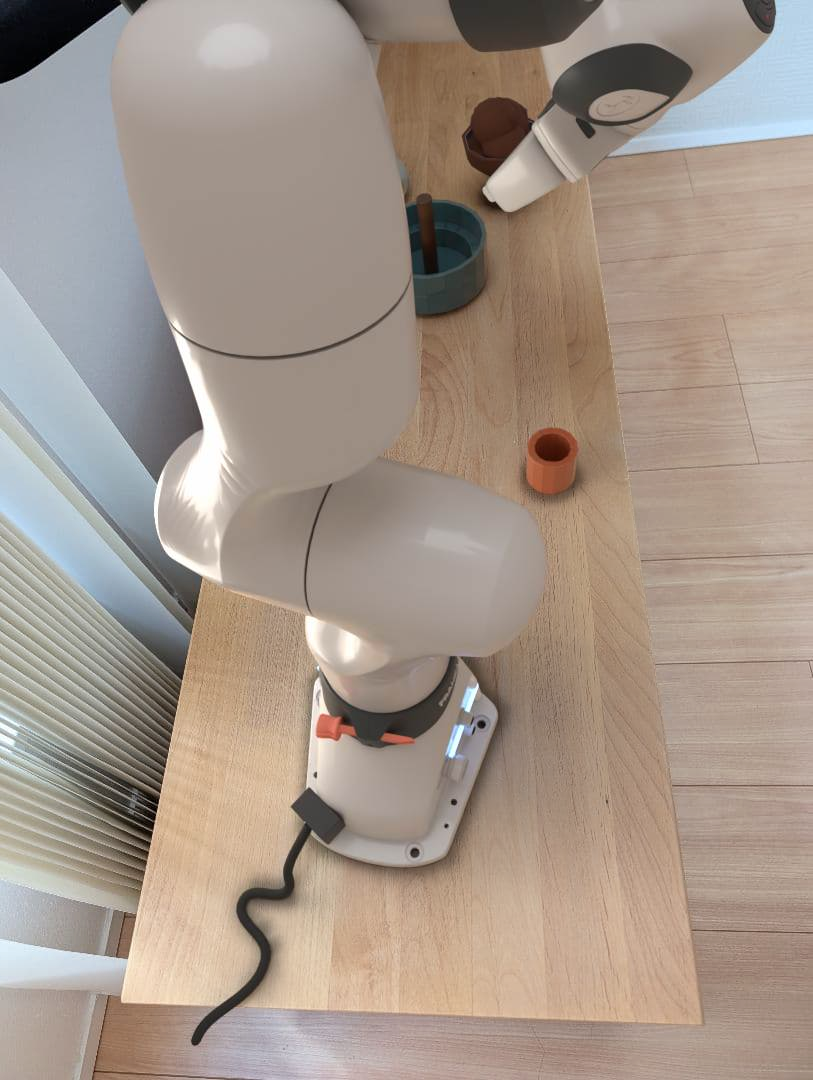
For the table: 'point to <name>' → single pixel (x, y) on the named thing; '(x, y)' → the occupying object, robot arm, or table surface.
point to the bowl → (449, 257)
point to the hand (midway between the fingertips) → (511, 166)
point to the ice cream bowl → (495, 134)
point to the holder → (551, 460)
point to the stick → (427, 233)
